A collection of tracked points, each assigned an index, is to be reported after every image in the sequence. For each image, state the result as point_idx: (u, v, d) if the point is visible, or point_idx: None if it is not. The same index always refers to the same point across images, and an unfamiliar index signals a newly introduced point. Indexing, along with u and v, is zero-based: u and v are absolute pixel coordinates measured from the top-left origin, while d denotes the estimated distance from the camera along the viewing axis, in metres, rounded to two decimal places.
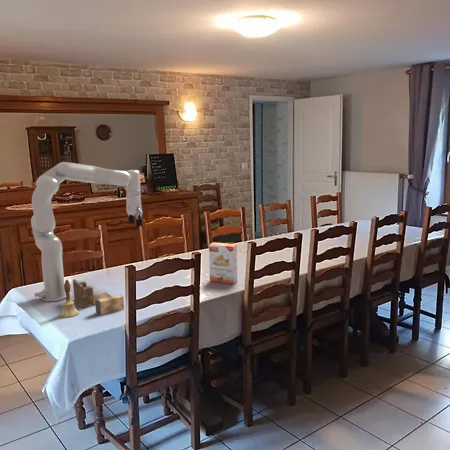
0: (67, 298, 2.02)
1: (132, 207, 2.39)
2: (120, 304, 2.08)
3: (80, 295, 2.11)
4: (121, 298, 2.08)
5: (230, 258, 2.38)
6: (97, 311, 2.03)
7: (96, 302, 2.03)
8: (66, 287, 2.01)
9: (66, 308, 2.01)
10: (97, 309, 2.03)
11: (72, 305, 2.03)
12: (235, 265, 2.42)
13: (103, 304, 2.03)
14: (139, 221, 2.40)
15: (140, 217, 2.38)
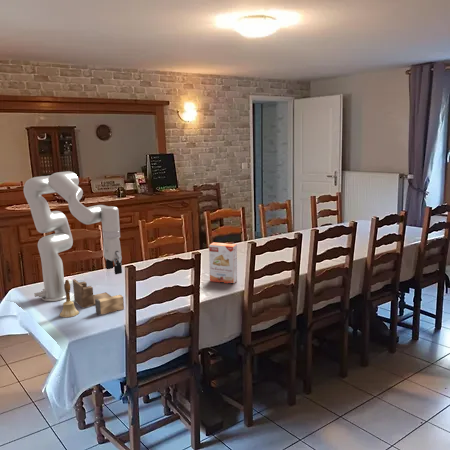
0: (67, 298, 2.02)
1: (109, 251, 1.99)
2: (120, 304, 2.08)
3: (80, 295, 2.11)
4: (121, 298, 2.08)
5: (230, 258, 2.38)
6: (97, 311, 2.03)
7: (96, 302, 2.03)
8: (66, 287, 2.01)
9: (66, 308, 2.01)
10: (97, 309, 2.03)
11: (72, 305, 2.03)
12: (235, 265, 2.42)
13: (103, 304, 2.03)
14: (118, 268, 2.00)
15: (119, 263, 1.99)
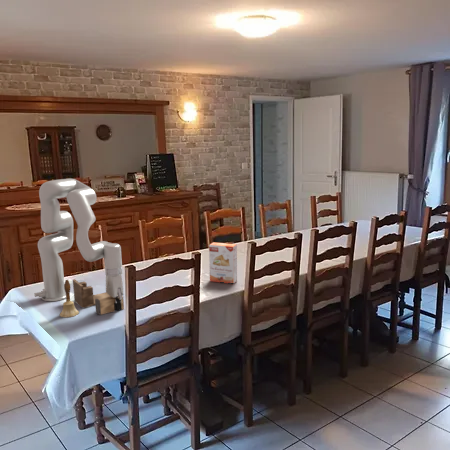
0: (67, 298, 2.02)
1: (112, 288, 2.02)
2: None
3: (80, 295, 2.11)
4: None
5: (230, 258, 2.38)
6: (97, 311, 2.03)
7: (96, 302, 2.03)
8: (66, 287, 2.01)
9: (66, 308, 2.01)
10: (97, 309, 2.03)
11: (72, 305, 2.03)
12: (235, 265, 2.42)
13: (103, 304, 2.03)
14: (118, 305, 2.06)
15: (119, 301, 2.05)
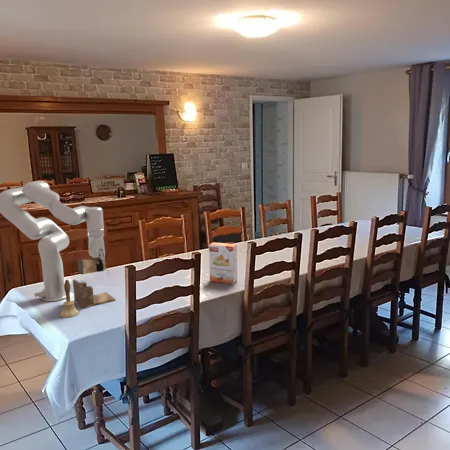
0: (67, 298, 2.02)
1: (94, 249, 2.12)
2: None
3: (80, 295, 2.11)
4: None
5: (230, 258, 2.38)
6: (80, 271, 2.13)
7: (79, 262, 2.13)
8: (66, 287, 2.01)
9: (66, 308, 2.01)
10: (80, 269, 2.13)
11: (72, 305, 2.03)
12: (235, 265, 2.42)
13: (86, 264, 2.13)
14: (100, 266, 2.16)
15: (101, 262, 2.15)
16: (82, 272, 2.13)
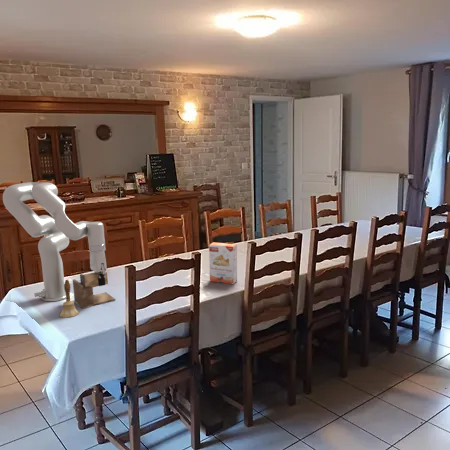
0: (67, 298, 2.02)
1: (95, 264, 2.14)
2: None
3: (80, 295, 2.11)
4: None
5: (230, 258, 2.38)
6: None
7: (81, 277, 2.14)
8: (66, 287, 2.01)
9: (66, 308, 2.01)
10: (82, 284, 2.14)
11: (72, 305, 2.03)
12: (235, 265, 2.42)
13: (87, 279, 2.14)
14: (101, 280, 2.17)
15: (102, 276, 2.16)
16: None
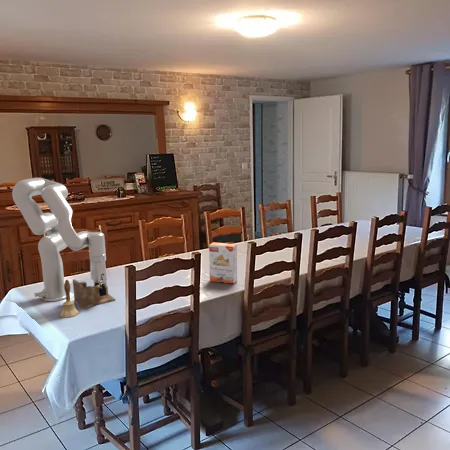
0: (67, 298, 2.02)
1: (96, 274, 2.15)
2: None
3: (80, 295, 2.11)
4: None
5: (230, 258, 2.38)
6: None
7: None
8: (66, 287, 2.01)
9: (66, 308, 2.01)
10: None
11: (72, 305, 2.03)
12: (235, 265, 2.42)
13: None
14: (103, 290, 2.17)
15: (103, 286, 2.16)
16: None
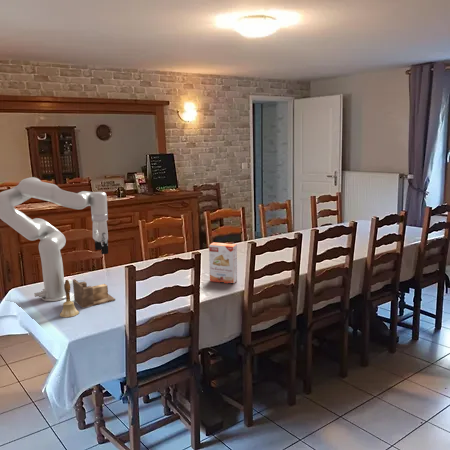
0: (67, 298, 2.02)
1: (97, 233, 2.16)
2: (104, 293, 2.21)
3: (80, 295, 2.11)
4: (105, 287, 2.21)
5: (230, 258, 2.38)
6: None
7: None
8: (66, 287, 2.01)
9: (66, 308, 2.01)
10: None
11: (72, 305, 2.03)
12: (235, 265, 2.42)
13: None
14: (104, 248, 2.17)
15: (105, 244, 2.16)
16: None
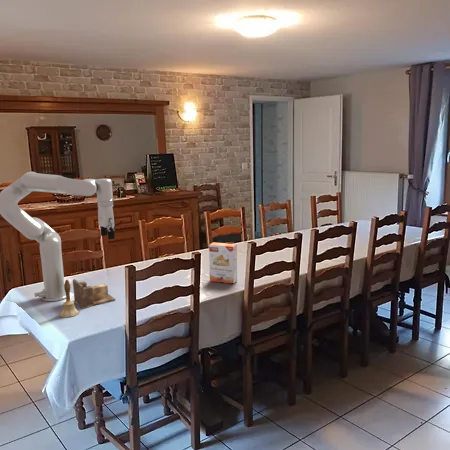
0: (67, 298, 2.02)
1: (103, 218, 2.22)
2: (104, 293, 2.21)
3: (80, 295, 2.11)
4: (105, 287, 2.21)
5: (230, 258, 2.38)
6: None
7: None
8: (66, 287, 2.01)
9: (66, 308, 2.01)
10: None
11: (72, 305, 2.03)
12: (235, 265, 2.42)
13: None
14: (111, 233, 2.23)
15: (112, 229, 2.22)
16: None
